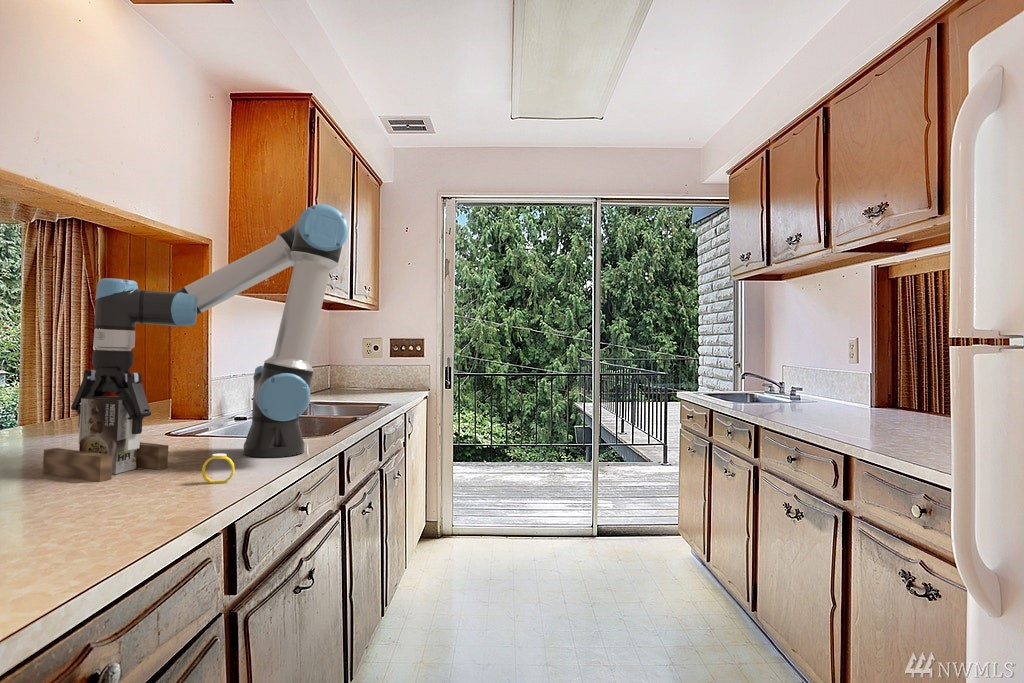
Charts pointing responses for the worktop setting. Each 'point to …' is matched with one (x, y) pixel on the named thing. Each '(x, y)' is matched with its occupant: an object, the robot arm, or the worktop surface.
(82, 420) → the coffee box
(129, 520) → the worktop surface
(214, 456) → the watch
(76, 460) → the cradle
